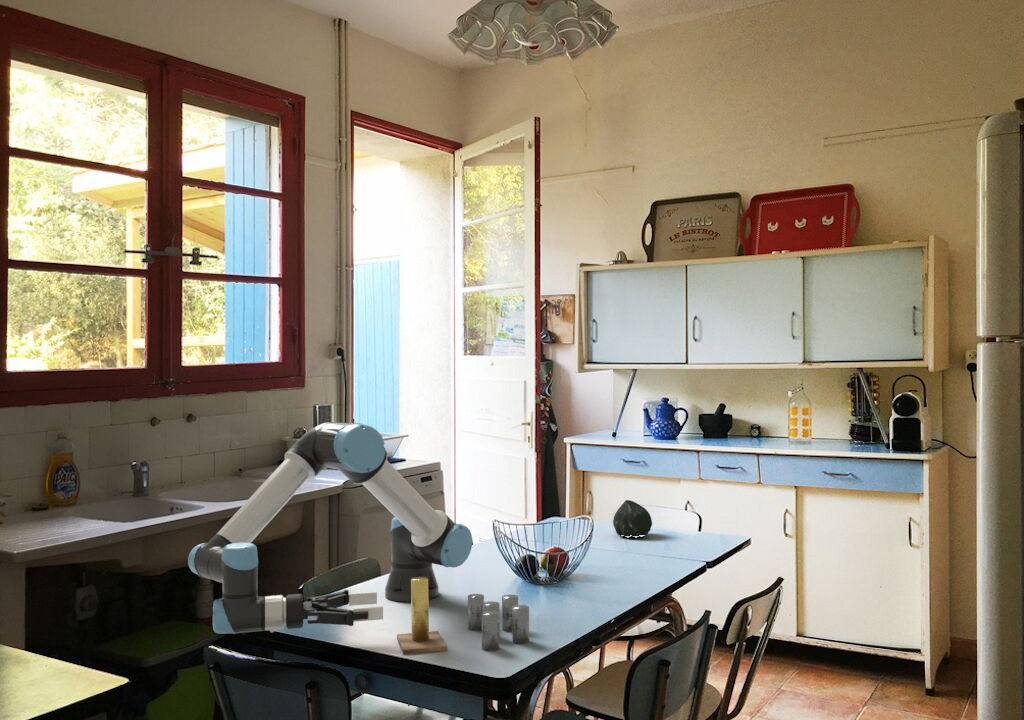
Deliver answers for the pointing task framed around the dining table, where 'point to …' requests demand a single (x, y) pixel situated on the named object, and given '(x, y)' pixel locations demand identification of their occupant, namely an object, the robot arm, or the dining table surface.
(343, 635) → the dining table surface
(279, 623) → the robot arm
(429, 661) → the dining table surface
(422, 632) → the cylinder
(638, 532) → the squash
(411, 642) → the board
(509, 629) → the spacers
